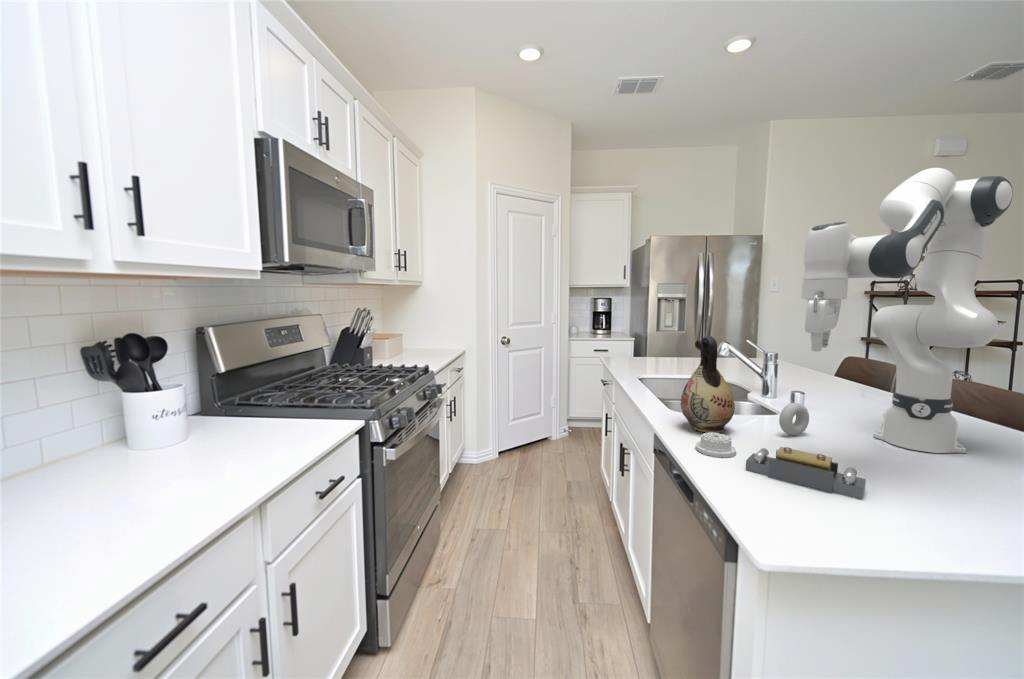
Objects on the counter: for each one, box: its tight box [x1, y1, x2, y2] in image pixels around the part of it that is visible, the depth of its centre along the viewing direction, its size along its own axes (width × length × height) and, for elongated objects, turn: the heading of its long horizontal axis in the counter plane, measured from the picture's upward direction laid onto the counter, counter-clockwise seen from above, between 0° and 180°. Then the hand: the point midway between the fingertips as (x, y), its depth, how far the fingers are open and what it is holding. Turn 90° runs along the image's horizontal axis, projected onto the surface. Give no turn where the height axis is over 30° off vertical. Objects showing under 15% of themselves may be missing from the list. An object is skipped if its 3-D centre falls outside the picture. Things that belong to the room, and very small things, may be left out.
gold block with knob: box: [775, 446, 833, 471], centre depth 98 cm, size 4×10×4 cm, turn 47°
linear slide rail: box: [745, 447, 867, 501], centre depth 98 cm, size 8×22×4 cm, turn 46°
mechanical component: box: [695, 432, 737, 459], centre depth 116 cm, size 10×4×10 cm
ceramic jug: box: [680, 335, 736, 434], centre depth 132 cm, size 17×15×30 cm
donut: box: [778, 402, 810, 437], centre depth 128 cm, size 10×4×10 cm, turn 108°
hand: (819, 349), depth 104 cm, fingers open, 8 cm apart
